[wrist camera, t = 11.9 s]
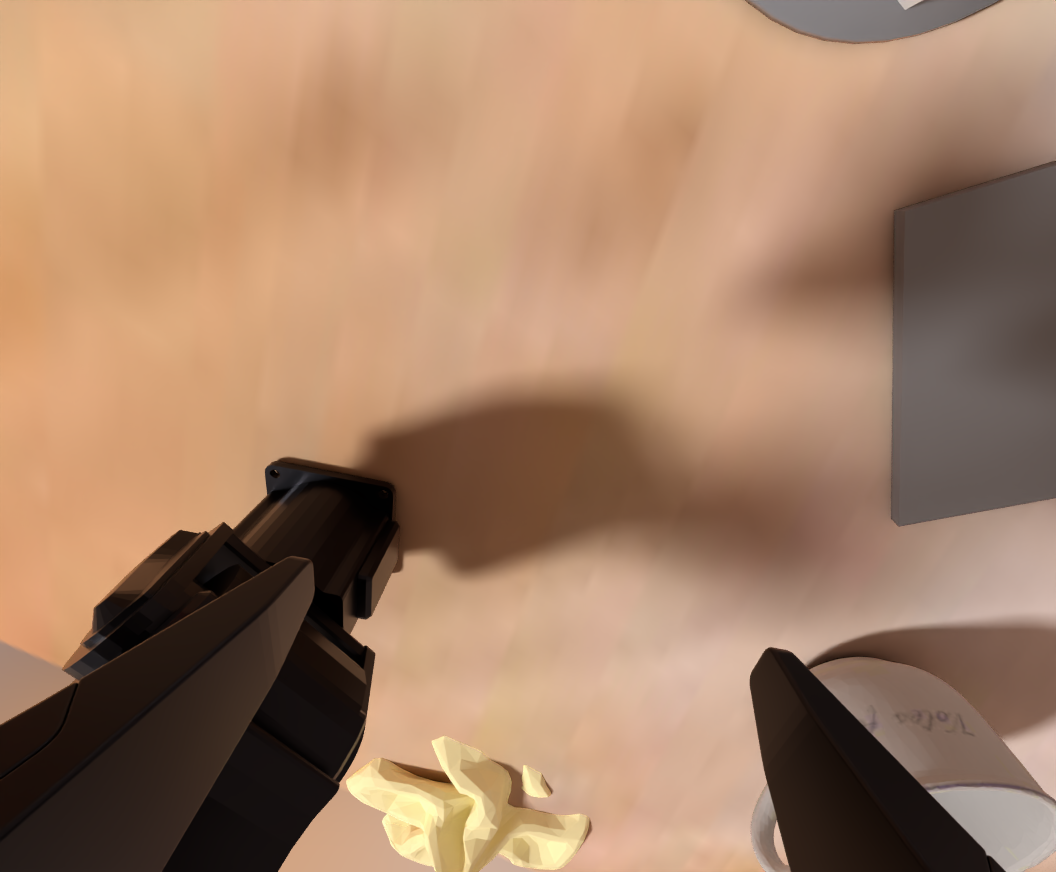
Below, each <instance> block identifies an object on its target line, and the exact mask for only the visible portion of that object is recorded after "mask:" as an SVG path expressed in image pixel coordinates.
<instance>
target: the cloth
mask: <svg viewBox="0 0 1056 872" xmlns="http://www.w3.org/2000/svg"><path fill="white" fill-rule="evenodd" d="M432 745H433V747H434V750H435V752H436V755H437V757H438V759H439V762H440V764H441V766H442V768H443V770H444V771H445V773H446V774H447V776H448V777H449V779H450V780H451V782H452V783H444V782H437V781H432V780H429V779H426V778H422V777H419V776H416V775H414V774H412V773H410V772H408V771H406V770H404V769H402V768H400V767H398V766H397V765H395V764H393V763H392V762H390V761H389V760H386V759H383V758H375V759H373V760H372V761H371V762H369V763H368V764H367V765H365V766H364V767H362V768H361V769H360V770H358V771H357V772H356V773H354V774H353V775H352V776H351V777H349V778H348V779H347V781H346V784H347V786H348V789H349V791H350V792H351V794H352V795H353V796H355V797H356V798H357V799H359V800H360V801H361V802H362V803H365V804H367V805H369V806H372V807H374V808H376V809H378V810H380V811H383V812H385V813H387V814H386V815H385V816H384V818H383V820H382V823H383V825H384V828H385V830H386V832H387V835H388V837H389V840H390V843H391V845H392V846H393V848H395V850H396V851H397V852H398V853H399V854H400V855H401V856H403V857H406V858H408V859H411V860H413V861H415V862H418V863H421V864H424V865H428V866H433V867H434V870H435V872H479V871H480V870H481V869H482V868H483V867H484V866H486V865H487V864H488V863H489V862H490V861H491V860H493V859H494V858H495V857H496V855H497V854H498V853H500V854H501V855H503V856H505V857H506V858H508V859H510V861H511V862H512V863H513V864H514V865H517V866H521V867H527V868H535V869H549V870H556V869H560V868H563V867H564V866H565V865H566V864H567V863H568V862H569V861H570V860H571V859H572V858H573V856H574V855H575V854H576V852H577V851H578V849H579V848H580V846H581V845H582V843H583V842H584V840H585V837H586V834H587V831H588V828H589V822H590V819H589V817H587V816H586V815H583V814H573V815H555V814H550V813H545V812H540V811H536V810H533V809H527V808H518V807H513V806H511V805H510V804H508V798H509V795H510V793H511V782H512V780H511V778H510V775H509V773H508V771H507V770H505V769H504V768H503V767H502V766H501V765H499V764H497V763H496V762H494V761H492V760H490V759H489V758H488V757H487V756H486V755H485V754H484V753H483V752H482V751H480V750H477V749H475V748H473V747H470V746H468V745H466V744H463V743H461V742H458V741H456V740H454V739H451V738H449V737H447V736H442V737H440V738H438V739H436V740H433V741H432ZM523 768H524V769H523V774H522V777H521V779H522V783H523V786H522V787H521V788H522V789H523V790H524V791H525V792H526V793H527V794H529V795H530V796H533V797H539V798H544V797H549V796H550V795H551V792H550V790H549V788H548V787H547V786H546V783H545V779H544V778H543V776H542V773H540V772H538V771H536V770H534V769H532V768H530V767H529V766H527V765H524V766H523Z"/></svg>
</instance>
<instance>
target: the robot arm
mask: <svg viewBox="0 0 1056 872" xmlns="http://www.w3.org/2000/svg"><path fill="white" fill-rule="evenodd" d="M275 470H277V471H278V472H279V474H278V473H277V472H276V471H275ZM265 477H266V487H267V496H266V497H265V498H264V499H263V500H262V501H261V502H260V503H259V504H258V505H257V506H256V507H255V508H254V509H253V510H252V511H251V512H250V513H249V514H248V515H247V516H246V517H245V518H244V519H243V520H242V521H241V522H240V523H239V524H238V525H237V526H236V527H235V528H234V529H231V528H230V527H229V526H228V525H227V524H226V523H224V522H223V523H221V524H220V525H218V526H217V527H215V528H214V529H213V530H211V531H210V532H206V531H204V532H203V533H201V532H199V533H193V532H188V531H182V530H179V531H178V532H176V533H175V534H174V535H172V536H171V537H170V538H169V539H167V540H166V541H165V542H164V543H163V544H162V545H160V546H159V547H158V548H157V549H156V550H155V551H154V552H152V553H151V554H150V555H149V556H148V557H147V558H145V559H144V560H143V561H142V562H141V563H140V564H139V565H137V566H136V567H135V568H134V569H133V570H132V571H131V572H130V573H129V574H128V575H127V576H126V577H125V578H124V579H123V580H122V581H121V582H120V583H119V584H118V585H117V586H116V587H115V588H114V589H113V590H112V591H110V592H109V593H108V594H107V595H106V596H105V597H104V598H103V599H102V600H101V601H100V602H99V603H98V604H97V605H96V606H95V607H94V611H93V621H92V629H91V630H90V631H89V632H88V634H87V635H86V636H85V638H84V639H83V640H82V642H81V643H80V644H81V645H80V647H79V648H78V649H77V650H76V652H75V653H74V654H73V655H72V657H71V658H70V659H69V660H68V662H67V663H66V664H65V665H64V667H63V668H62V670H63V671H64V672H66V673H68V674H69V675H71V676H72V677H74V678H75V681H73V682H72V683H71V684H70V685H69V686H67V687H65V688H64V689H62V690H60V691H58V692H57V693H55V694H53V695H52V696H50V697H48V698H46V699H45V700H43V701H41V702H39V703H38V704H36V705H34V706H33V707H31V708H29V709H27V710H25V711H24V712H22V713H20V714H18V715H17V716H15V717H13V718H11V719H9V720H8V721H6V722H4V723H2V724H1V725H0V872H278V870H279V869H280V867H281V866H282V864H283V862H284V861H285V859H286V857H287V856H288V854H289V853H290V851H291V849H292V848H293V846H294V845H295V844H296V842H297V841H298V839H299V838H300V837H301V835H302V834H303V832H304V831H305V830H306V828H307V827H308V826H309V824H310V823H311V821H312V820H313V819H314V818H315V817H316V815H317V814H318V813H319V812H320V811H321V810H322V809H323V808H324V807H325V805H326V804H327V803H328V802H329V801H330V800H331V799H332V798H333V796H334V795H335V794H336V793H337V791H338V789H339V785H340V784H339V782H340V781H341V780H342V778H343V777H344V775H345V774H346V772H347V770H348V769H349V767H350V766H351V764H352V762H353V760H354V758H355V756H356V754H357V752H358V749H359V747H360V744H361V742H362V739H363V734H364V730H365V724H366V717H367V710H368V703H369V696H370V688H371V681H372V674H373V667H374V660H375V652H373V651H372V650H371V649H370V648H369V647H368V646H363V645H362V644H360V643H359V642H358V641H357V640H356V639H355V638H354V637H352V636H351V635H350V634H351V632H352V630H353V628H354V626H355V624H356V622H357V620H358V618H360V619H368V618H369V617H371V616H372V614H373V612H374V610H375V608H376V606H377V603H378V601H379V599H380V597H381V595H382V593H383V591H384V589H385V586H386V584H387V582H388V580H389V578H390V576H391V574H392V572H393V569H394V567H395V565H396V563H397V561H398V549H399V532H400V525H399V524H398V522H397V521H394V520H395V501H396V489H395V487H394V486H393V485H392V484H391V483H388V482H384V481H379V480H373V479H368V478H363V477H358V476H353V475H347V474H342V473H337V472H332V471H326V470H321V469H316V468H311V467H305V466H300V465H295V464H290V463H284V462H279V461H274V462H272V463H271V464H270V465H269V466H267V468H266V469H265ZM382 490H384V491H386V492H387V493H388V494H384V493H383V492H382ZM750 690H751V696H752V702H753V708H754V714H755V720H756V726H757V732H758V738H759V744H760V750H761V756H762V762H763V767H764V771H765V776H766V780H767V784H768V788H769V791H770V795H771V799H772V803H773V807H774V810H775V814H776V818H777V822H778V826H779V829H780V833H781V837H782V841H783V844H784V848H785V852H786V856H787V860H788V863H789V867H790V871H791V872H1006V871H1005V870H1004V869H1003V868H1002V867H1001V866H1000V865H999V864H998V863H997V862H996V861H995V860H994V859H993V858H992V857H991V856H989V855H987V854H986V851H985V850H984V849H983V847H982V846H981V845H980V844H979V843H978V842H977V841H976V840H975V839H974V838H973V837H972V836H971V835H970V834H969V833H968V832H967V831H966V830H965V829H964V828H963V827H962V826H961V825H960V824H959V823H958V822H957V821H956V820H955V819H954V818H953V817H952V816H951V815H950V814H949V813H948V812H947V811H946V810H945V809H944V808H943V806H942V805H941V804H940V803H939V802H938V801H937V800H936V799H935V798H934V797H933V796H932V795H931V794H930V793H929V792H928V791H927V790H926V789H925V788H924V787H923V786H922V785H921V784H920V783H919V782H918V781H917V780H916V779H915V778H914V777H913V776H912V775H911V774H910V773H909V772H908V771H907V770H906V769H905V768H904V766H903V765H902V764H901V763H900V762H899V761H898V760H897V759H896V758H895V757H894V756H893V755H892V754H891V753H890V752H889V751H888V750H887V749H886V748H885V747H884V746H883V745H882V744H881V743H880V742H879V741H878V740H877V739H876V738H875V737H874V736H873V735H872V734H871V733H870V732H869V731H868V730H867V729H866V728H865V727H864V725H863V724H862V723H861V722H860V721H859V720H858V719H857V718H856V717H855V716H854V715H853V714H852V713H851V712H850V711H849V710H848V709H847V708H846V707H845V706H844V705H843V704H842V703H841V702H840V701H839V700H838V699H837V698H836V697H835V696H834V695H833V694H832V693H831V692H830V691H829V690H828V689H827V688H826V687H825V686H824V684H823V683H822V682H821V681H820V680H819V679H818V678H817V677H816V676H815V675H814V674H813V673H812V672H811V671H810V670H809V669H808V668H807V667H806V666H805V665H804V664H803V663H802V662H801V661H800V660H799V659H798V658H797V657H796V656H795V655H794V654H793V653H792V652H790V651H788V650H783V649H778V648H773V647H769V648H768V649H766V650H765V651H764V653H763V654H762V656H761V657H760V659H759V661H758V662H757V664H756V666H755V667H754V669H753V670H752V672H751V675H750Z"/></svg>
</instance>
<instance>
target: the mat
mask: <svg viewBox="0 0 1056 872" xmlns="http://www.w3.org/2000/svg"><path fill="white" fill-rule="evenodd" d="M1053 498H1056V161H1054V162H1050V163H1047V164H1044V165H1041V166H1037V167H1034V168H1031V169H1028V170H1024V171H1021V172H1018V173H1015V174H1011V175H1008V176H1005V177H1002V178H999V179H995V180H992V181H989V182H986V183H982V184H979V185H976V186H973V187H969V188H966V189H963V190H960V191H956V192H953V193H950V194H947V195H943V196H940V197H937V198H934V199H930V200H927V201H924V202H921V203H917V204H914V205H911V206H908V207H904V208H901V209H898V210H895V211H894V299H893V392H892V485H891V519H892V520H893V521H894V522H895V523H896V524H897V525H898V526H904V525H910V524H915V523H921V522H926V521H932V520H937V519H943V518H948V517H954V516H959V515H965V514H970V513H976V512H981V511H987V510H992V509H998V508H1004V507H1009V506H1015V505H1020V504H1026V503H1031V502H1037V501H1042V500H1048V499H1053Z"/></svg>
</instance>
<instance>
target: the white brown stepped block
mask: <svg viewBox="0 0 1056 872" xmlns="http://www.w3.org/2000/svg"><path fill="white" fill-rule="evenodd" d="M921 1H923V0H898V2H899V3H900V4H901V6H902V7H903V8H904V9H905V10H906V9H908V8H910V7H912V6H913V5H915V4H917V3H919V2H921Z"/></svg>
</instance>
